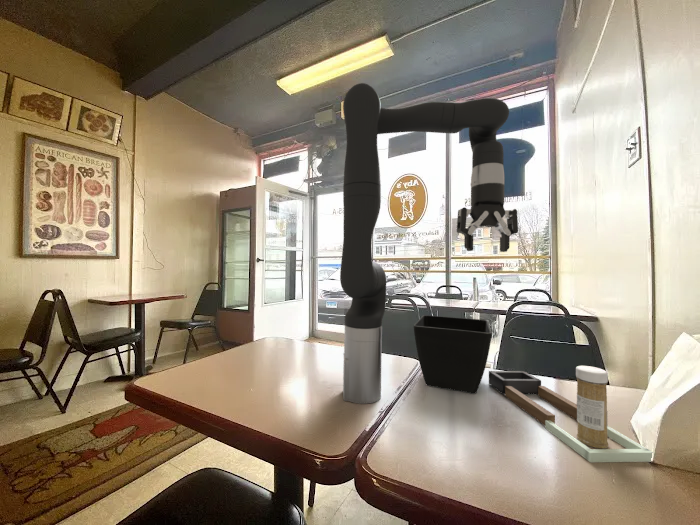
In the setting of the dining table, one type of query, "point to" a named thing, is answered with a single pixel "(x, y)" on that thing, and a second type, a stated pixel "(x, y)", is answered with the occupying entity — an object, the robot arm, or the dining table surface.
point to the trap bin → (514, 381)
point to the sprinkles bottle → (592, 406)
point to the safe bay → (630, 454)
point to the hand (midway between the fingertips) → (486, 251)
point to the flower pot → (452, 351)
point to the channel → (538, 410)
